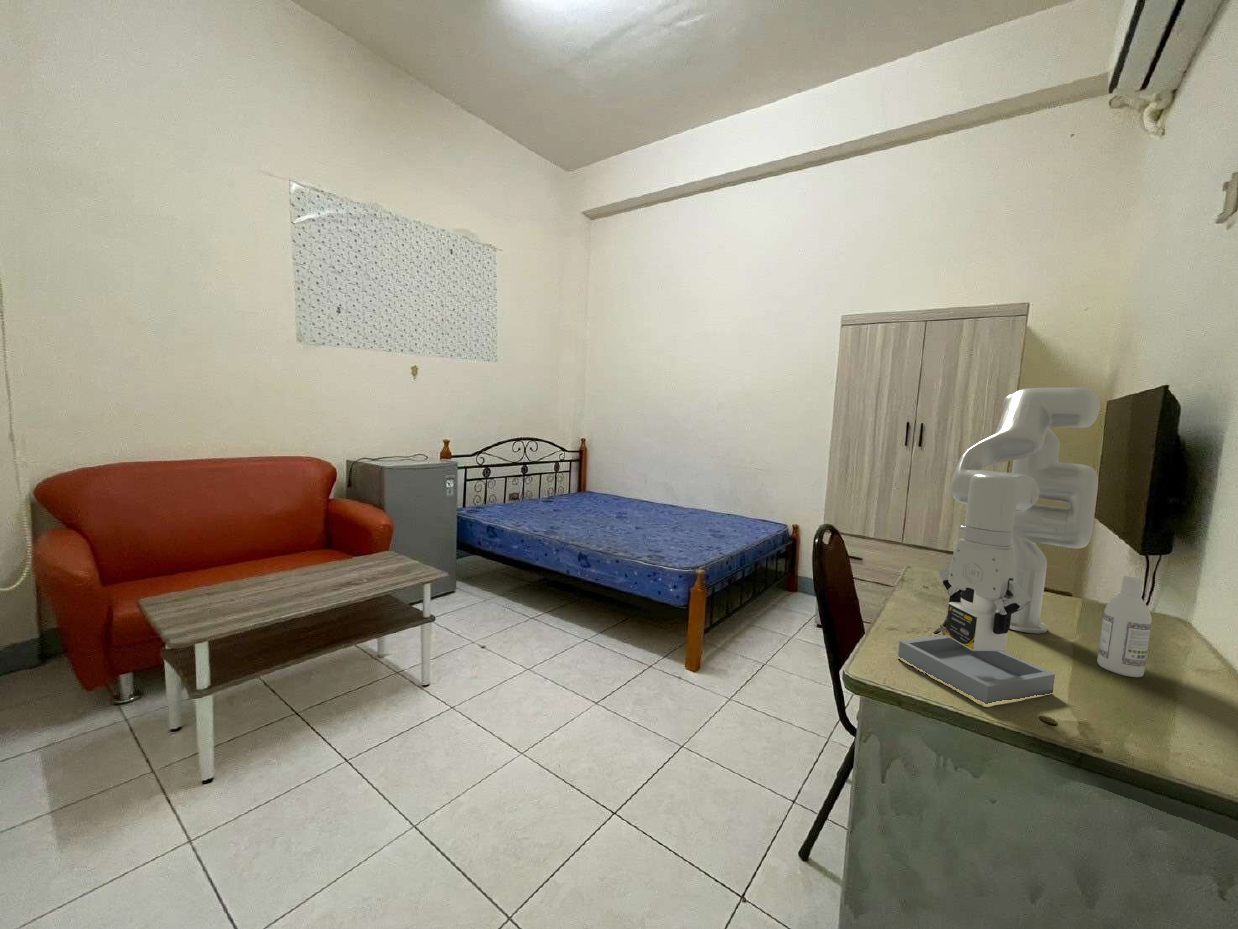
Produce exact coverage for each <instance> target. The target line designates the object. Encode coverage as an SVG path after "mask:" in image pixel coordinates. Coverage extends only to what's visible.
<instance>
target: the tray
mask: <svg viewBox="0 0 1238 929" xmlns="http://www.w3.org/2000/svg"><path fill="white" fill-rule="evenodd" d="M898 644H899V645H898V652H897V653H898V654H897V657H898V656H899V657H900V658H903V659H904V660H906V661H907V662H909V663H910V664H913V665H914V666H916V667H917V668H919V669H922V670H923V671H925V672H926V673H928V674H930V675H933V676H934V677H936V678H937V679H940V680H942V681H943V682H945V683H947V684H950V685H952V686H953V687H955V688H956V689H959V690H961V691H963V692H964V693H966V694H968V695H971V696H973V697H974V698H975V699H977V700H980V701H982V702H984V703H985V704H988V703H992V702H996V701H1002V700H1012V699H1020V698H1025V697H1030V696H1034V695H1036V696H1037V695H1045V694H1050V693H1053V692H1054V686H1055V678H1056V673H1054V672H1051V671H1048V670H1046V669H1044V668H1042V667H1040V666H1037V665H1035V664H1032V663H1030V662H1028V661H1026V660H1023V659H1022V658H1019V657H1016V656H1014V655H1012V654H1010V653H1007V652H1006V651H972V650H970V649H968V648H967V647H965V646H963V645H961V644H960V643H958V642H956V641H955V640H953V639H951V638H949V637H948V636H946V635H943V636H935V637H929V636H928V637H920V638H915V639H913V638H912V639H907V640H906V639H905V640H900V641H899V643H898Z"/></svg>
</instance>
